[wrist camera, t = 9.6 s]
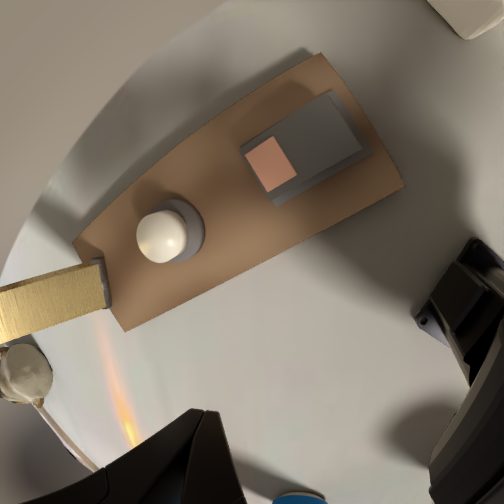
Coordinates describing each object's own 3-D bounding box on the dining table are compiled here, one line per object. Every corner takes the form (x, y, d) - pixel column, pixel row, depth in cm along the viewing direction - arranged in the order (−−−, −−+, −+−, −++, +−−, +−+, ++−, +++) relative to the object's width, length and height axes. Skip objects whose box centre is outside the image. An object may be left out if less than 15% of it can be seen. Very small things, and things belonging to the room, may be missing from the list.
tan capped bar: (107, 259, 18) (-49, 306, 10) (116, 307, 20) (-29, 358, 11) (99, 255, 20) (-47, 297, 11) (107, 300, 21) (-29, 347, 12)
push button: (197, 242, 16) (187, 248, 15) (164, 263, 17) (152, 270, 15) (172, 201, 15) (160, 204, 14) (141, 225, 16) (128, 229, 15)
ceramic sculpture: (31, 429, 21) (14, 427, 27) (76, 389, 29) (48, 398, 35) (-24, 348, 20) (-26, 368, 26) (28, 316, 28) (11, 344, 34)
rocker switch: (362, 148, 12) (361, 149, 11) (276, 197, 14) (268, 201, 13) (329, 96, 12) (324, 92, 11) (247, 149, 14) (237, 150, 13)
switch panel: (399, 184, 14) (408, 186, 12) (135, 323, 22) (119, 336, 20) (322, 61, 14) (320, 47, 12) (84, 237, 21) (65, 245, 19)
